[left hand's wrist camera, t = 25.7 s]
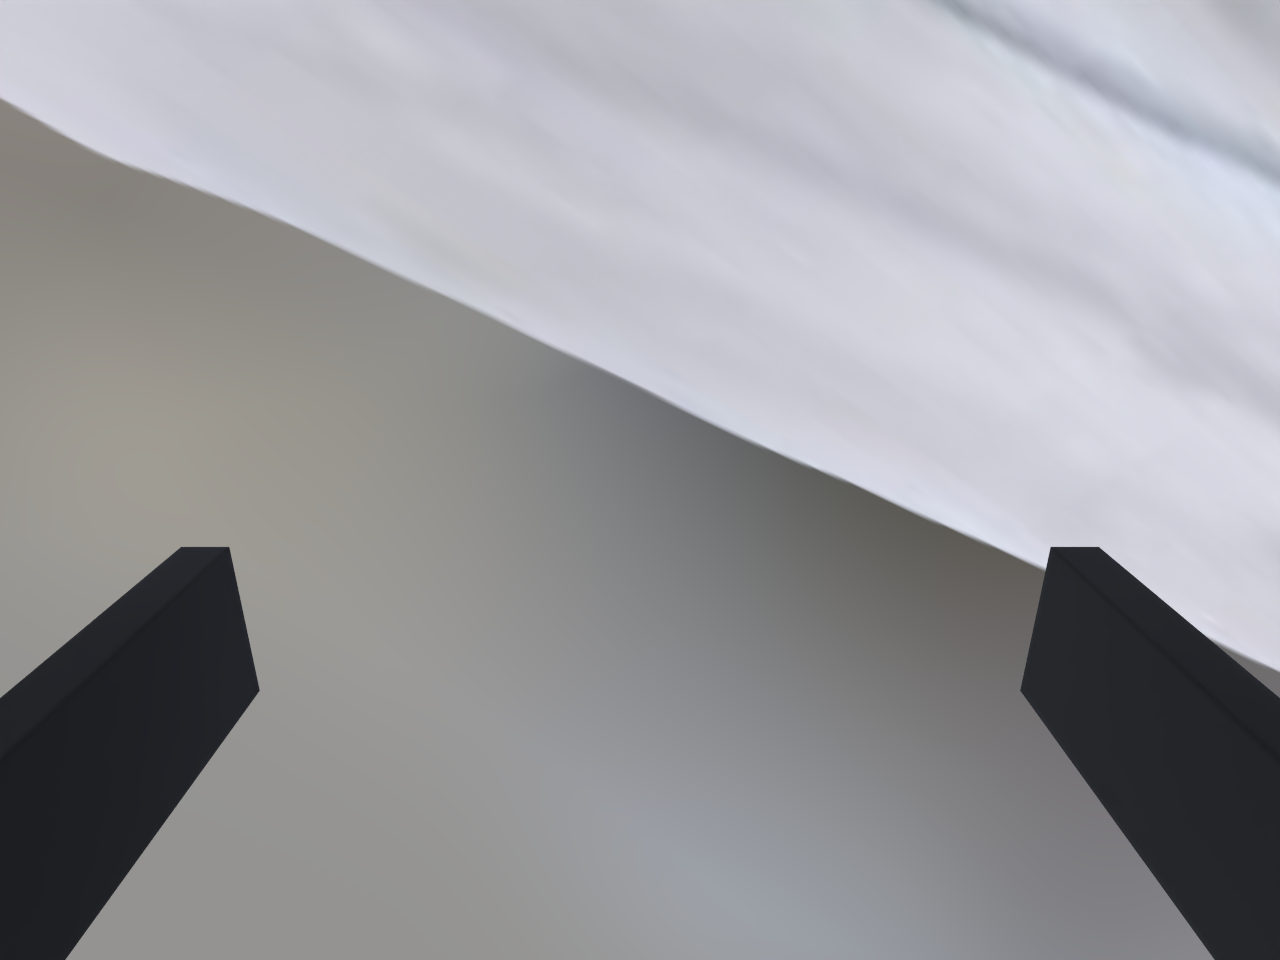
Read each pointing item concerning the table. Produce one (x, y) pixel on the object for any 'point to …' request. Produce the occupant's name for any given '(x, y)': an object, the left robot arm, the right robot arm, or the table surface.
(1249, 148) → the table surface
